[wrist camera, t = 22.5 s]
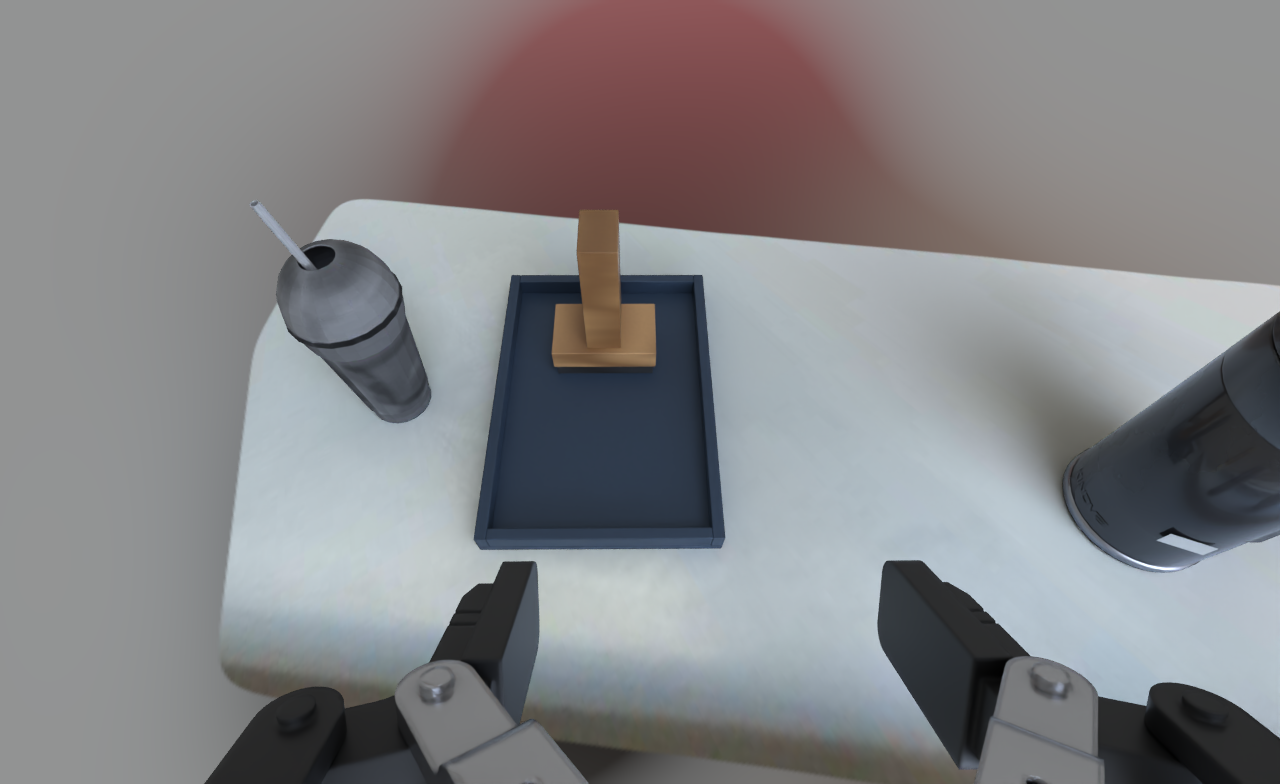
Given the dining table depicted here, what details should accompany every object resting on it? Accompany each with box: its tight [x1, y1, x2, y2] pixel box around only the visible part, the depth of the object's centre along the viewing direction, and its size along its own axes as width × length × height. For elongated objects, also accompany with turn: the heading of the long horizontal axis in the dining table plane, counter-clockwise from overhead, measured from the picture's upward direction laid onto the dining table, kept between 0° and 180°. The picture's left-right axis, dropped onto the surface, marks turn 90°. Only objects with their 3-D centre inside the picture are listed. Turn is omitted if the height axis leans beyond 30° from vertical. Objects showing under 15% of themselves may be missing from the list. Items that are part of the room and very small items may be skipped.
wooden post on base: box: [552, 210, 656, 373], centre depth 45 cm, size 8×5×13 cm, turn 91°
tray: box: [474, 275, 725, 550], centre depth 47 cm, size 17×24×2 cm
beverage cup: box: [250, 200, 431, 423], centre depth 40 cm, size 7×7×20 cm
